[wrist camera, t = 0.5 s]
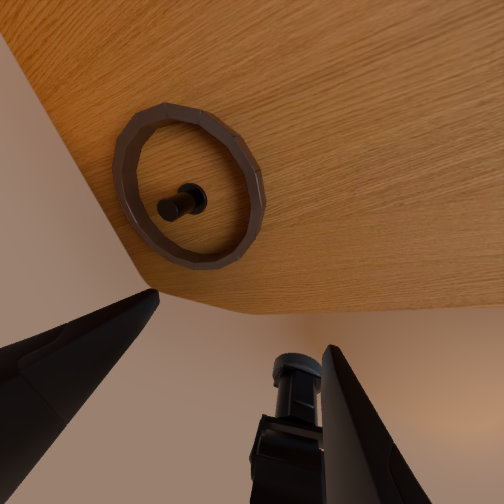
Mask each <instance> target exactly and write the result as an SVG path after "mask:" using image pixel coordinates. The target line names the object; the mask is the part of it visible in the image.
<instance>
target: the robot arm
mask: <svg viewBox="0 0 504 504" xmlns="http://www.w3.org/2000/svg"><path fill="white" fill-rule="evenodd" d="M159 302H160V299H159V292H158V290H155V289H152V288H150V289H147V290H145V291H142V292H140V293H137V294H135V295H132V296H130V297H128V298H125V299H123V300H120V301H118V302H116V303H113V304H111V305H109V306H106V307H104V308H101V309H99V310H96V311H94V312H92V313H89V314H87V315H84V316H82V317H80V318H77V319H75V320H72V321H70V322H68V323H65V324H63V325H60V326H58V327H55V328H53V329H51V330H48V331H45V332H43V333H40V334H38V335H35V336H32V337H30V338H27V339H24V340H22V341H19V342H16V343H13V344H10V345H8V346H5V347H2V348H0V504H4V503H5V502H6V501H7V500H8V499H9V497H10V496H11V495H12V494H13V493H14V491H15V490H16V489H17V487H18V486H19V485H20V484H21V483H22V481H23V480H24V479H25V477H26V476H27V475H28V474H29V472H30V471H31V470H32V469H33V467H34V466H35V465H36V464H37V462H38V461H39V460H40V459H41V457H42V456H43V455H44V454H45V452H46V451H47V450H48V448H49V447H50V446H51V445H52V444H53V442H54V441H55V440H56V439H57V437H58V436H59V435H60V433H61V432H62V431H63V430H64V428H65V427H66V426H67V424H68V423H69V422H70V421H71V419H72V418H73V417H74V415H75V414H76V413H77V412H78V411H79V409H80V408H81V407H82V406H83V404H84V403H85V402H86V400H87V399H88V398H89V397H90V395H91V394H92V393H93V392H94V390H95V389H96V388H97V387H98V385H99V384H100V383H101V382H102V380H103V379H104V378H105V377H106V375H107V374H108V373H109V371H110V370H111V369H112V368H113V366H114V365H115V364H116V363H117V362H118V360H119V359H120V358H121V356H122V355H123V354H124V353H125V351H126V350H127V349H128V348H129V346H130V345H131V344H132V343H133V341H134V340H135V339H136V338H137V336H138V335H139V334H140V332H141V331H142V330H143V328H144V327H145V325H146V324H147V322H148V321H149V319H150V318H151V316H152V314H153V313H154V311H155V310H156V308H157V307H158V305H159ZM274 387H277V388H278V396H277V404H276V412H275V417H271V416H267V415H265V414H263V415H262V418H261V420H260V422H259V426H258V430H257V434H256V438H255V441H254V445H253V448H252V450H251V453H250V456H249V461H250V463H251V479H252V481H253V487H252V492H251V497H250V504H432V503H431V501H430V500H429V498H428V496H427V495H426V494H425V492H424V490H423V489H422V487H421V486H420V484H419V482H418V481H417V479H416V478H415V476H414V474H413V473H412V471H411V469H410V468H409V466H408V464H407V463H406V461H405V460H404V458H403V456H402V454H401V453H400V451H399V449H398V448H397V446H396V444H395V443H394V441H393V439H392V437H391V436H390V434H389V432H388V431H387V429H386V427H385V426H384V424H383V422H382V420H381V419H380V417H379V416H378V413H377V412H376V410H375V408H374V407H373V405H372V403H371V401H370V400H369V398H368V396H367V395H366V393H365V391H364V389H363V388H362V386H361V384H360V383H359V381H358V379H357V377H356V376H355V374H354V372H353V371H352V369H351V367H350V365H349V364H348V362H347V360H346V359H345V357H344V355H343V353H342V352H341V350H340V348H339V347H337V346H334V345H331V344H330V345H328V347H327V349H326V350H325V352H324V354H323V357H322V374H321V377H320V376H317V375H314V374H311V373H309V372H306V371H303V370H300V369H298V368H295V367H292V366H289V365H286V364H283V365H282V367H281V369H280V371H279V373H278V375H277V377H276V379H275V381H274ZM320 388H321V407H322V408H321V410H322V425H323V426H322V427H319V426H318V418H317V392H318V391H319V389H320ZM319 448H322V449H324V451H322V450H321V449H319Z"/></svg>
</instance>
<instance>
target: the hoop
mask: <svg viewBox="0 0 504 504" xmlns="http://www.w3.org/2000/svg"><path fill="white" fill-rule="evenodd" d="M179 121H183V122H188V123H192V124H197V125H199V126H201V127H202V128H203V129H205V130H206V131H207V132H208V133H210V134H211V135H212V136H214V137H215V138H216V139H218V140H219V141H220V142H222V143H223V144H224V145H226V146H227V148H228V149H229V151H230V153H231V154H232V156H233V158H234V159H235V161H236V162H237V164H238V166H239V167H240V169H241V170H242V172H243V174H244V175H245V179H246V184H247V189H248V193H249V198H250V203H251V212H250V217H249V223H248V228H247V233H246V235H245V236H244V238H243V239H242V240H241V242H240V243H239V244H238V245H236V246H235V247H233V248H231V249H229V250H227V251H225V252H223V253H221V254H206V255H201V254H198V253H195V252H192V251H188V250H185V249H182V248H181V247H179V246H178V245H176V244H175V243H173V242H172V241H171V240H169V239H168V238H166V237H165V236H164V235H163V234H162V233H161V232H160V230H159V229H158V228H157V227H156V226H155V224H154V223H153V222H152V221H151V220H150V218H149V217H148V214H147V212H146V210H145V208H144V206H143V203H142V201H141V199H140V197H139V190H138V182H137V174H136V169H137V165H138V161H139V157H140V152H141V148H142V146H143V145H144V143H145V142H146V141H147V140H148V139H149V137H150V136H151V135H152V134H153V133H154V132H155V130H156V129H158V128H161V127H164V126H167V125H170V124H173V123H176V122H179ZM259 169H260V167H259V165H258V164H257V162H256V160H255V159H254V157H253V155H252V153H251V152H250V150H249V148H248V147H247V145H246V143H245V142H244V140H243V138H242V137H241V136H240V135H239V134H238V133H237V132H235V131H234V130H233V129H231V128H230V127H229V126H228V125H226V124H225V123H224V122H222V121H221V120H220V119H219V118H217V117H216V116H215V115H213V114H211V113H209V112H206V111H203V110H200V109H195V108H190V107H185V106H181V105H176V104H171V103H162V104H159V105H156V106H154V107H151V108H148V109H146V110H143V111H140V112H138V113H135V115H134V116H133V117H132V119H131V120H130V121H129V123H128V124H127V125H126V127H125V128H124V130H123V131H122V132H121V134H120V135H119V136H118V139H117V140H116V146H115V153H114V159H113V165H112V172H113V178H114V183H115V188H116V194H117V199H119V200H118V201H119V203H120V205H121V207H122V209H123V211H124V213H125V215H126V217H127V219H128V221H129V223H130V225H131V226H132V228H133V229H134V230H135V231H136V232H137V233H138V235H139V236H140V237H141V238H142V239H143V240H144V241H145V243H146V244H147V245H148V246H149V247H150V248H151V249H153V250H154V251H155V252H157V253H158V254H160V255H161V256H163V257H164V258H166V259H167V260H169V261H170V262H172V263H174V264H178V265H181V266H184V267H187V268H190V269H193V270H212V269H220V268H222V267H225V266H227V265H229V264H231V263H233V262H235V261H237V260H239V259H240V258H241V257H242V256H243V254H244V253H245V252H246V251H247V249H248V248H249V247H250V245H251V244H252V243H253V241H254V240H255V239H256V237H257V235H258V233H259V231H260V229H261V224H262V220H263V215H264V211H265V207H266V198H265V192H264V186H263V180H262V174H261V170H259Z"/></svg>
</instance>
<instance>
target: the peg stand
mask: <svg viewBox="0 0 504 504" xmlns="http://www.w3.org/2000/svg"><path fill="white" fill-rule="evenodd" d="M206 206H207V197H206V194H205V192H204V190H203V189H202V188H201V187H200V186H198V185H197V184H194V183H187V184H184V185H182V186H181V187H180V188H179V190H178V194H175V195H172V196H170V197H167V198H164V199H162V200H160V201H159V202H158V204H157V210H158V213H159V215H160V216H161V217H162V218H163V219H164V220H166V221H169V222H173V221H175V220H177V219H178V218H180V217H182V216H184V215H186V214H187V213H190V214H194V215H195V214H199V213H201V212H203V211H204V210H205V208H206Z"/></svg>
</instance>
